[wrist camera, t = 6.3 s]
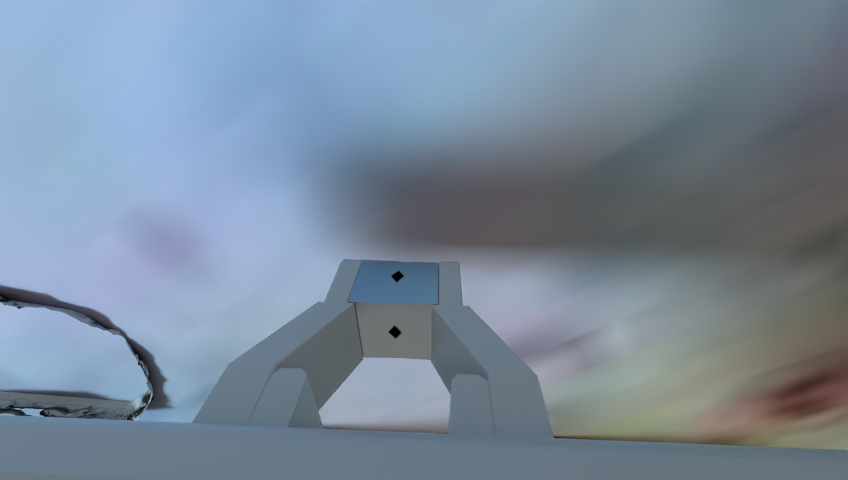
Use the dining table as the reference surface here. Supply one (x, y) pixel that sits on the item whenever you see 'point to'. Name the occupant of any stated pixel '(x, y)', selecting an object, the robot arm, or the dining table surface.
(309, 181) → the dining table surface
